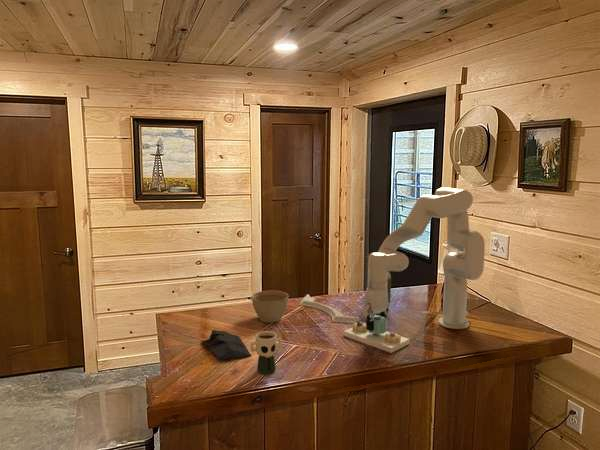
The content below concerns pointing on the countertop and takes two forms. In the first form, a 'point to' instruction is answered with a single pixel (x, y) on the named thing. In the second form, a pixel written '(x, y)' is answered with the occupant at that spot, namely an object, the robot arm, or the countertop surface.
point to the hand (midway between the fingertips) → (376, 326)
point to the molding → (328, 311)
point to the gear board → (376, 338)
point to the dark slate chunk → (226, 345)
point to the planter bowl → (270, 305)
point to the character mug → (266, 351)
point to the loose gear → (379, 325)
